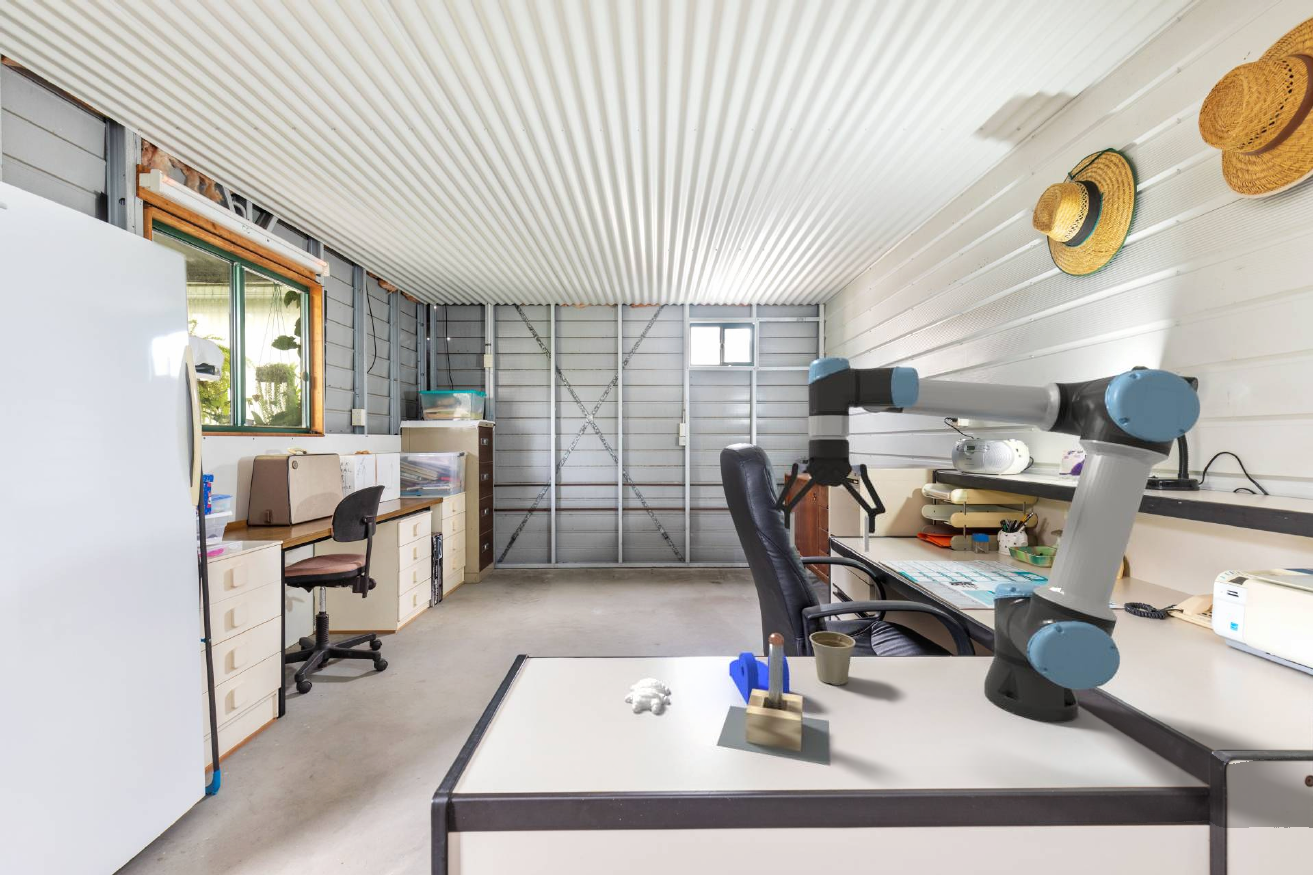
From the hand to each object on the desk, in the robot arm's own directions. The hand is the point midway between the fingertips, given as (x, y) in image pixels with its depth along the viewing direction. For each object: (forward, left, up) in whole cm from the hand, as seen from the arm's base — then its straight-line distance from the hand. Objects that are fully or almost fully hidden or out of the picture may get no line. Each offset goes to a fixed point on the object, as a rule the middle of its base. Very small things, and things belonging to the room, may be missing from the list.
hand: (828, 548), depth 103 cm
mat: (+9, +13, -31) cm, 34 cm away
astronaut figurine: (+34, +8, -31) cm, 47 cm away
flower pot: (-1, -13, -31) cm, 34 cm away
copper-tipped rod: (+9, +13, -30) cm, 34 cm away
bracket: (+15, -5, -31) cm, 35 cm away
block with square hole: (+9, +13, -30) cm, 34 cm away
